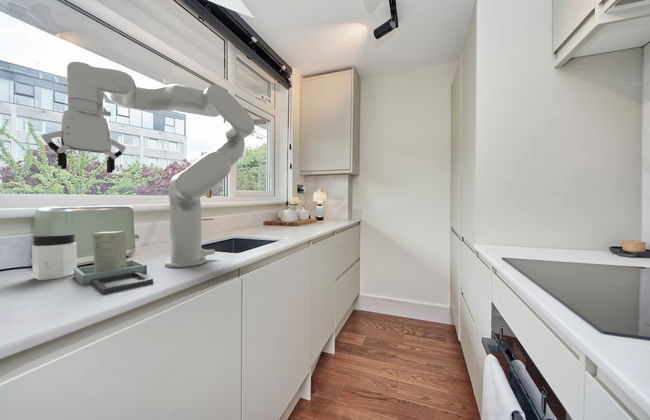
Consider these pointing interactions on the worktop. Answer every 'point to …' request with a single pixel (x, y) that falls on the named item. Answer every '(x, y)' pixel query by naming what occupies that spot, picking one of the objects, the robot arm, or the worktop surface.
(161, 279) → the worktop surface
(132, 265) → the tray
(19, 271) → the worktop surface
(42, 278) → the jar
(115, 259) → the skincare box
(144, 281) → the dark grey rectangular frame
